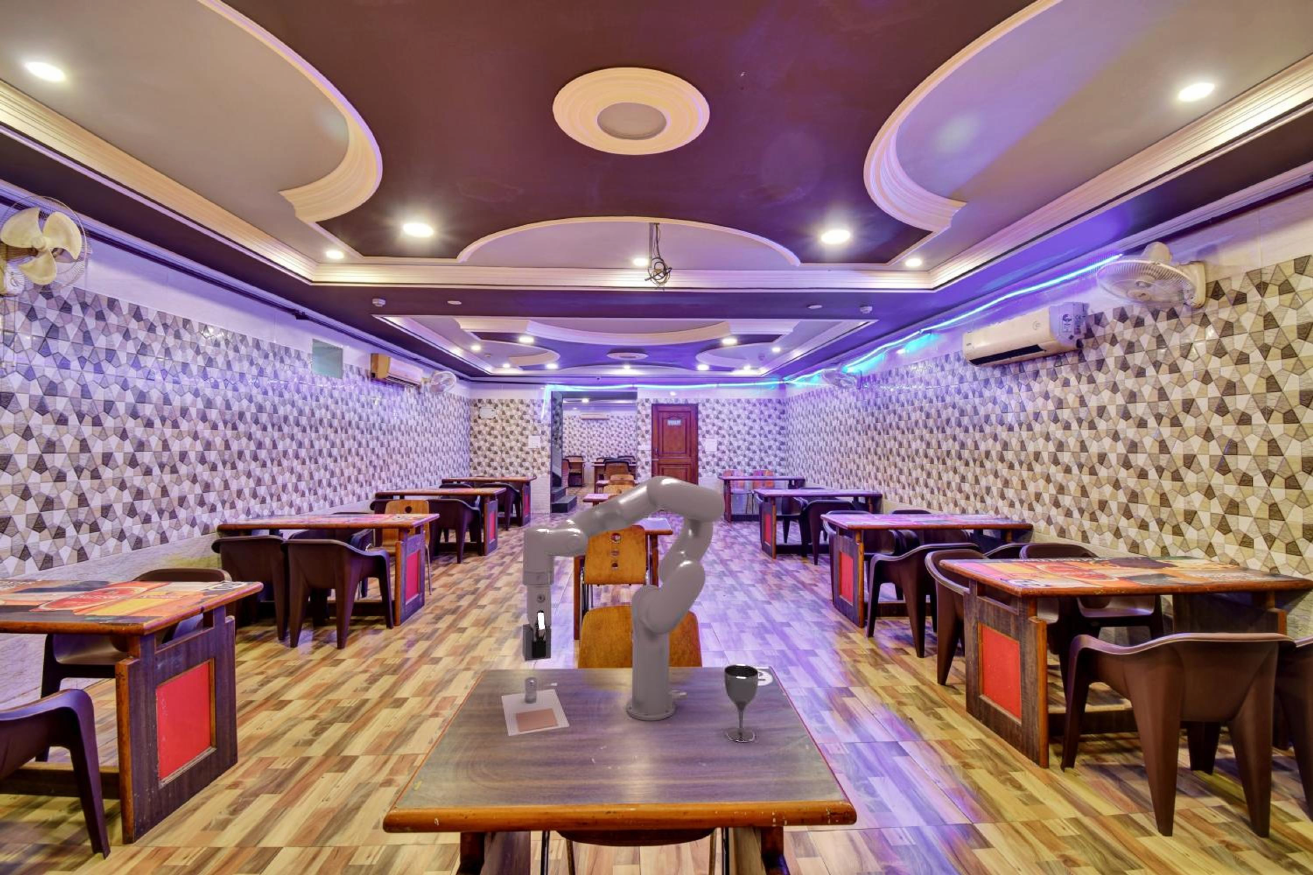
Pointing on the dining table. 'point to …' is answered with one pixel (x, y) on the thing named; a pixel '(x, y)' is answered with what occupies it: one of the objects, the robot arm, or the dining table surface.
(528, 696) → the post
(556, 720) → the board
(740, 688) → the wine glass
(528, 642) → the dark grey block
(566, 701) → the dining table surface
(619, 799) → the dining table surface
